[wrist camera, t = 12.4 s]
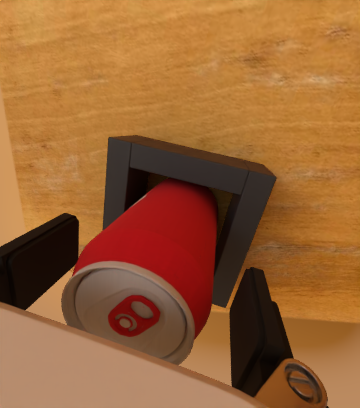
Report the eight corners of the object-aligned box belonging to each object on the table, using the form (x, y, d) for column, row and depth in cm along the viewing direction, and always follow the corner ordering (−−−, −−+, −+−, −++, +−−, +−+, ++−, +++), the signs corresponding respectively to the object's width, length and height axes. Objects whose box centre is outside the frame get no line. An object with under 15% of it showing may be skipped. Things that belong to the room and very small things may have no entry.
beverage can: (137, 206, 19) (23, 308, 8) (181, 158, 17) (101, 213, 6) (185, 250, 20) (136, 400, 9) (233, 210, 18) (249, 346, 7)
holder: (124, 241, 21) (99, 268, 17) (136, 135, 17) (108, 136, 13) (225, 271, 20) (225, 308, 16) (263, 164, 16) (277, 177, 12)
